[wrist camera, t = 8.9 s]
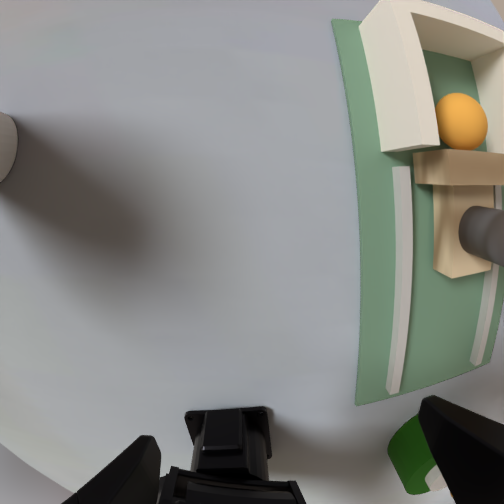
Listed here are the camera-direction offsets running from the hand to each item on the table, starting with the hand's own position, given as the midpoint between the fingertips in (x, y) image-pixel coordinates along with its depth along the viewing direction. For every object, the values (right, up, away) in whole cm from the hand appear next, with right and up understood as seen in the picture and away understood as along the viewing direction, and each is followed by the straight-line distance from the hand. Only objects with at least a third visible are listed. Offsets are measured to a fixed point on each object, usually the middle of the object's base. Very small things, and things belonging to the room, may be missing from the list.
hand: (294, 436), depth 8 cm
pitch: (+13, +9, +11) cm, 19 cm away
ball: (+12, +14, +7) cm, 20 cm away
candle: (+16, -13, +16) cm, 26 cm away
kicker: (+13, +9, +10) cm, 19 cm away
